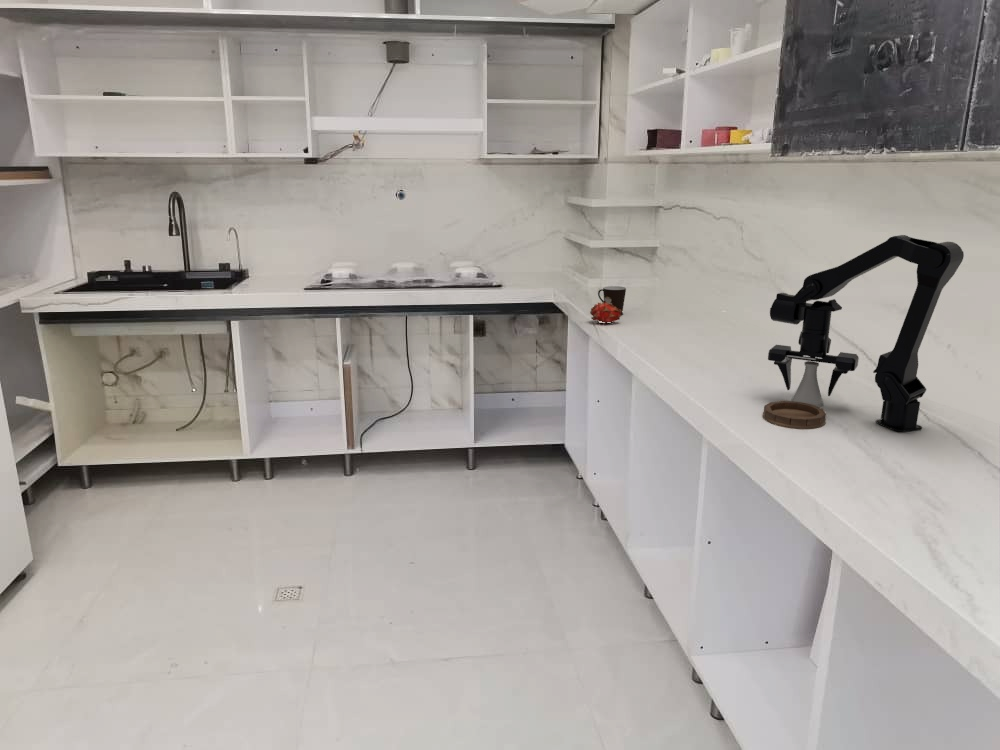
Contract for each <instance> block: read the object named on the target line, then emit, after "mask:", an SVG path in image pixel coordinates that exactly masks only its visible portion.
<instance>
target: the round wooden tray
mask: <svg viewBox="0 0 1000 750" xmlns="http://www.w3.org/2000/svg"><path fill="white" fill-rule="evenodd" d="M762 418H763V419H764V420H765V421H766V420H767V421H766V422H768V423H770V422H771V423H770V424H772V423H773V425H775V424H776V425H775V426H779V427H783V428H787V429H797V430H810V429H813V430H814V429H817V428H818V429H819V428H821V427H824V426H825V425H826V422H827V421H826V418H827V412H825V410H824V409H823V408H821V407H817V406H815V405H812V404H807V403H802V402H795V401H792V400H778V401H771V402H768V403H767V404H765V405H764V406H763V412H762Z"/></svg>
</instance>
